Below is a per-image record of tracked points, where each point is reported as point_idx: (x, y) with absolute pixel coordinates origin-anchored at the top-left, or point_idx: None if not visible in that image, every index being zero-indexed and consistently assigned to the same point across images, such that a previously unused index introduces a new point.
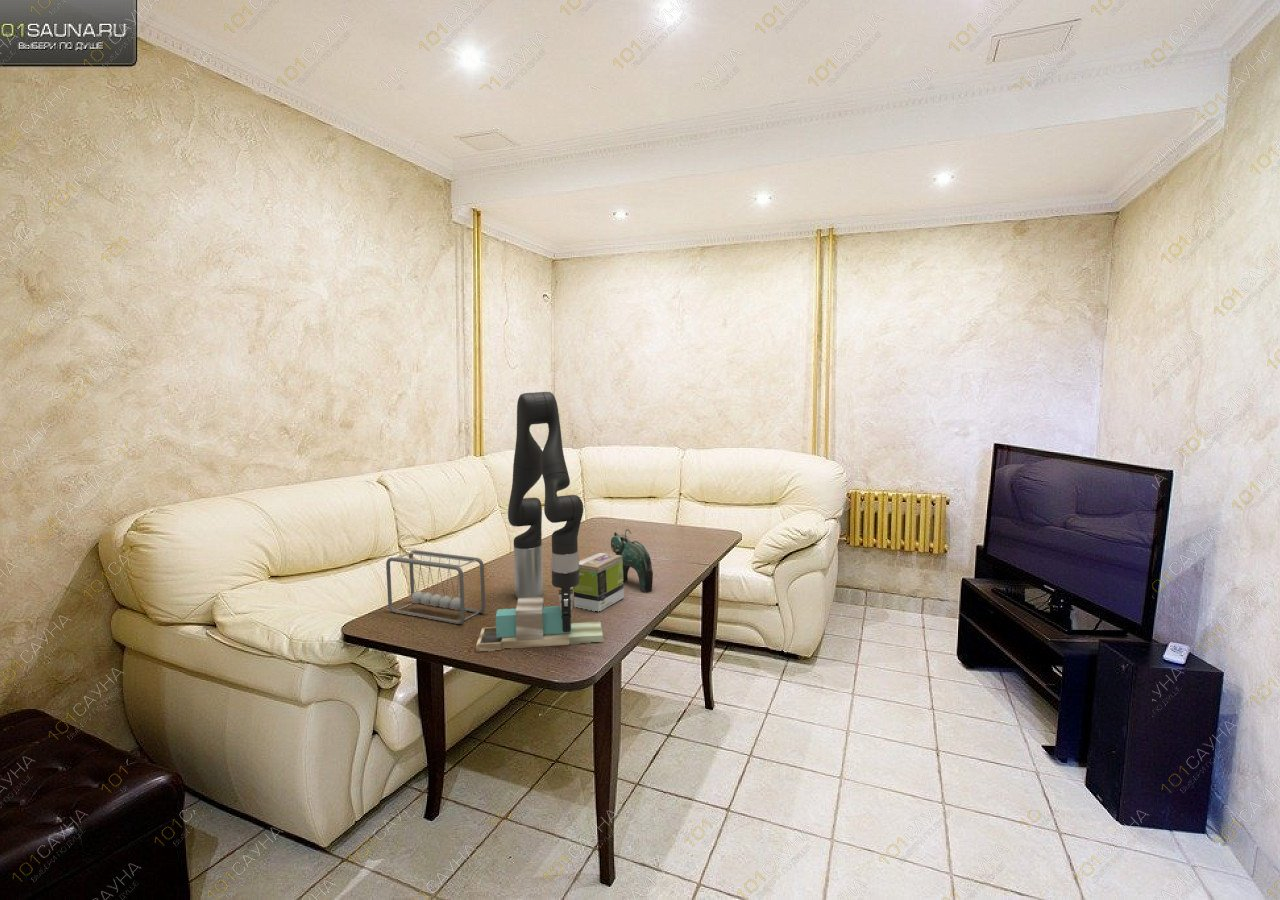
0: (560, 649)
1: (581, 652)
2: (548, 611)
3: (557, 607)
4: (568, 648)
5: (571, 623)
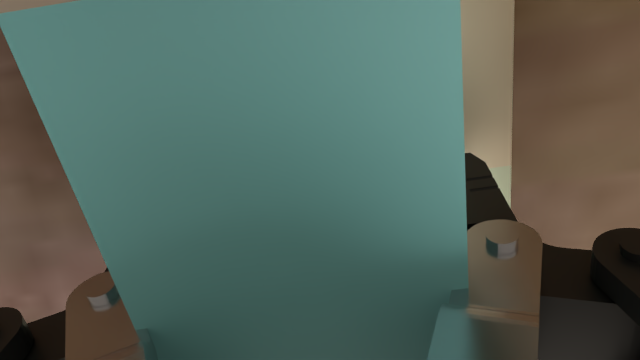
0: (28, 117)
1: (17, 280)
2: (131, 96)
3: (382, 231)
4: (67, 181)
5: (501, 190)
